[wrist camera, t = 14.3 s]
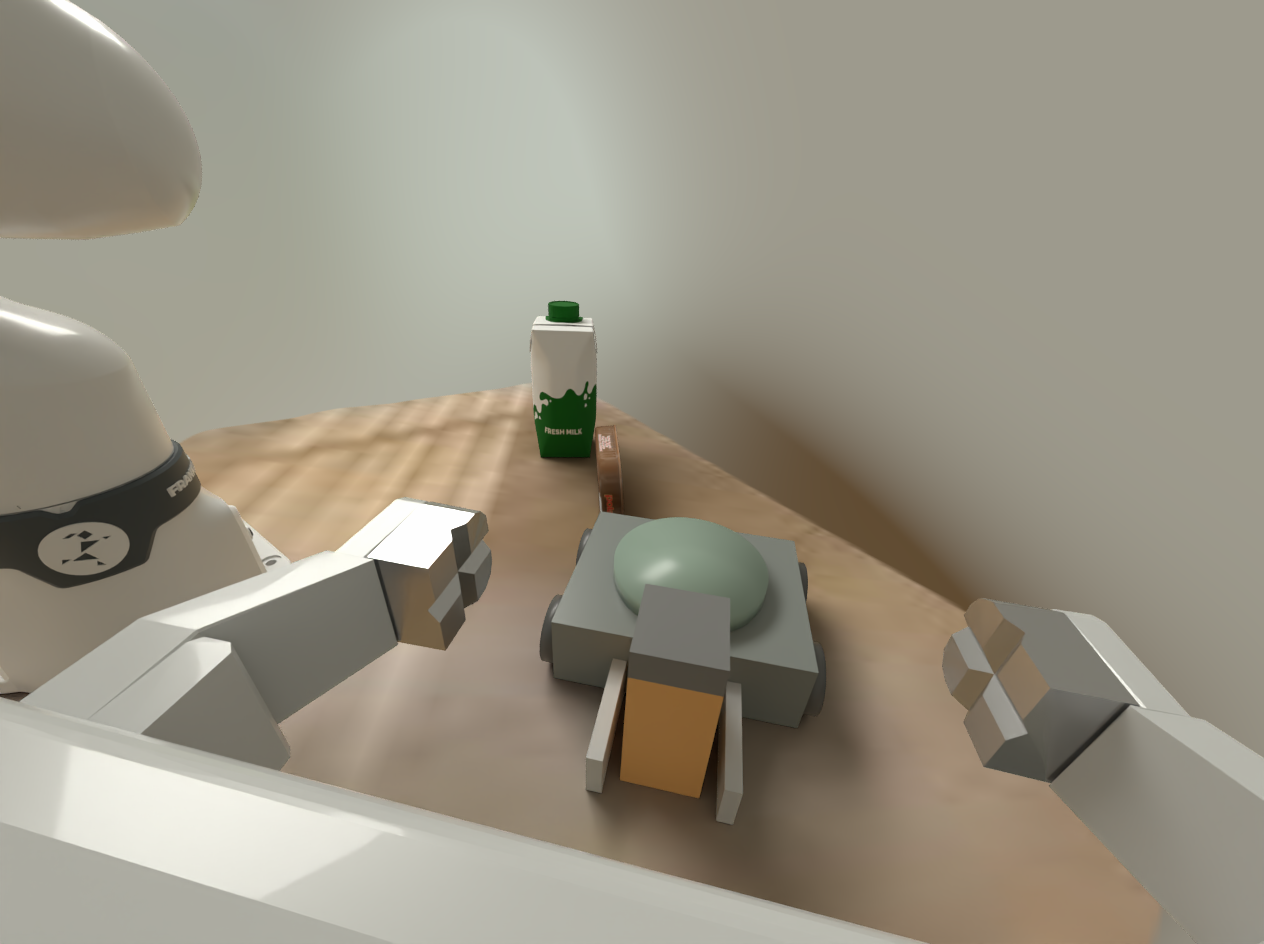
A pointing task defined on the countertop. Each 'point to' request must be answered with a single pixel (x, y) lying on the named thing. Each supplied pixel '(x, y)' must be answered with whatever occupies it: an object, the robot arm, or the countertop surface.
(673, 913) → the robot arm
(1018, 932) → the countertop surface
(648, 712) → the orange gray block
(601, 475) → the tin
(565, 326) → the milk carton
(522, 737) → the countertop surface
